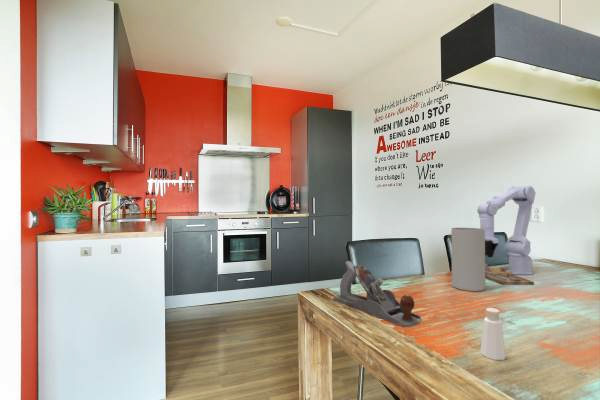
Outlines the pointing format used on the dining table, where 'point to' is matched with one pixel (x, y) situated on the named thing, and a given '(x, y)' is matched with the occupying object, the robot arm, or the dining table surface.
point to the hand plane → (376, 298)
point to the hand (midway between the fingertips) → (487, 256)
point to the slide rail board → (512, 280)
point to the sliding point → (498, 271)
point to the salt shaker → (493, 336)
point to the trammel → (495, 274)
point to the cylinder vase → (468, 259)
